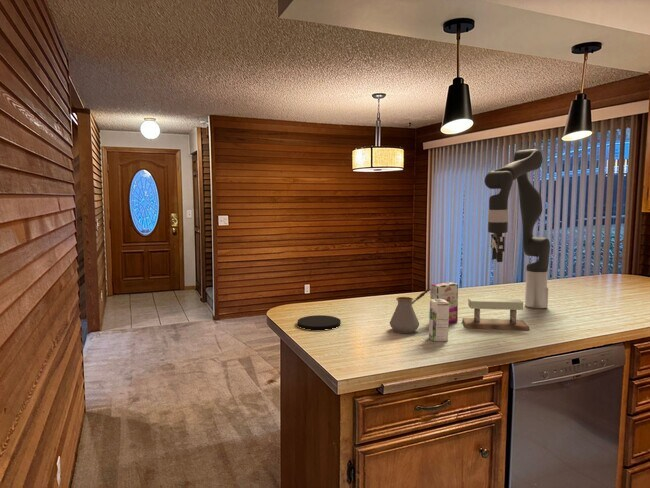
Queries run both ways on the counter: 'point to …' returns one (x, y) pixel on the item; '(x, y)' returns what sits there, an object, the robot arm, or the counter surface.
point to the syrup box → (438, 320)
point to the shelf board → (495, 304)
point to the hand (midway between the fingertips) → (497, 260)
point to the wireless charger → (319, 322)
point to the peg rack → (495, 322)
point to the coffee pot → (405, 315)
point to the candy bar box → (447, 297)
